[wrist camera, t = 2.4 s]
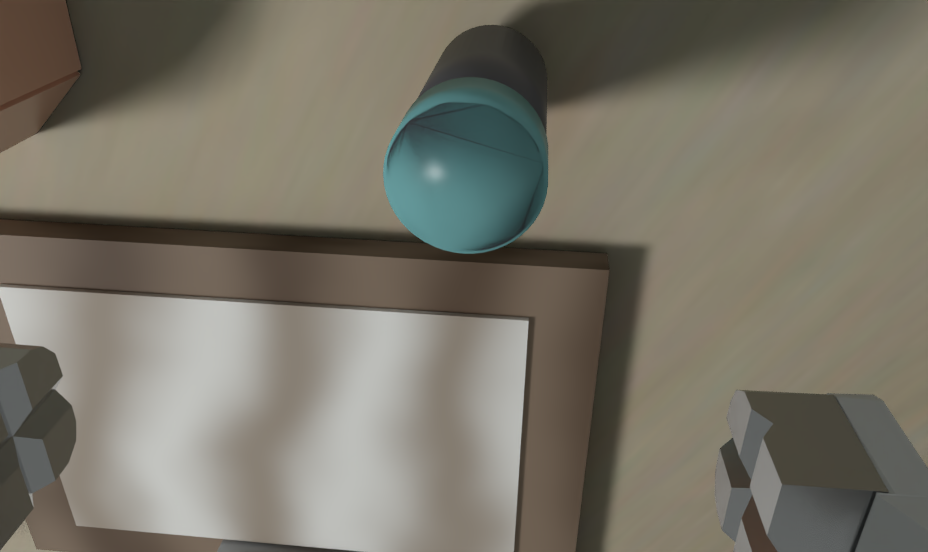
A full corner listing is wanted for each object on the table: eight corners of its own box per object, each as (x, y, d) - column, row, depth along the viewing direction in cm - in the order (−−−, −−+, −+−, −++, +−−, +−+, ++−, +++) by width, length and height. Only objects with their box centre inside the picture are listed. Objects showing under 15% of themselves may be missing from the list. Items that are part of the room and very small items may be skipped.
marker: (552, 15, 22) (553, 101, 14) (545, 124, 24) (542, 258, 16) (440, 11, 22) (380, 94, 14) (440, 120, 24) (386, 249, 16)
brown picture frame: (607, 253, 25) (611, 285, 24) (568, 575, 33) (570, 619, 31) (-60, 215, 27) (-106, 242, 25) (51, 528, 35) (23, 566, 33)
